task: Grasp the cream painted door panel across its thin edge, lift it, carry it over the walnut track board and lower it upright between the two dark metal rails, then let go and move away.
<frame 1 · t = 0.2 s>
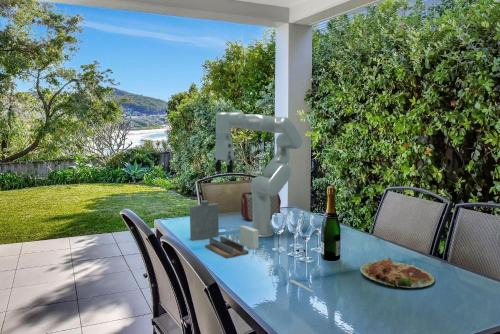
hand: (224, 171, 210), 36 cm above the table, tool pointing down, fingers open, 9 cm apart
hip flask: (205, 238, 222), on the table
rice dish: (396, 277, 167), on the table
door panel: (248, 246, 208), on the table
handbag: (262, 218, 266), on the table
track: (226, 250, 200), on the table
butter knife: (314, 293, 152), on the table
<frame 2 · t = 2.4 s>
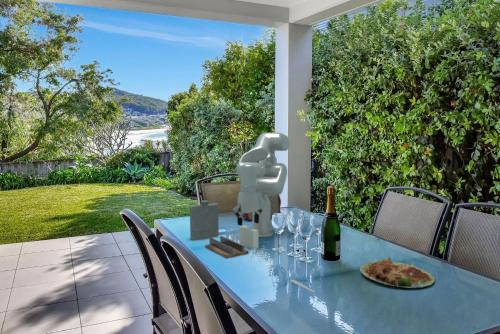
hand: (248, 224, 206), 11 cm above the table, tool pointing down, fingers open, 9 cm apart
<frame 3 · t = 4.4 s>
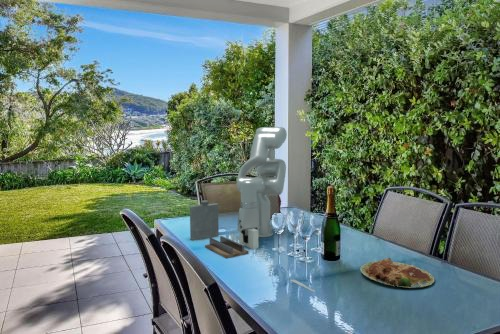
hand: (248, 241, 207), 2 cm above the table, tool pointing down, fingers closed on door panel, 3 cm apart
door panel: (248, 245, 208), on the table, touching gripper
everything else where it was.
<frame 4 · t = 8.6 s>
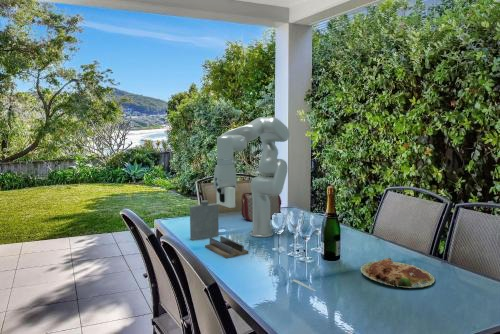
hand: (225, 201, 198), 24 cm above the table, tool pointing down, fingers closed on door panel, 3 cm apart
door panel: (225, 205, 198), point 22 cm above the table, touching gripper
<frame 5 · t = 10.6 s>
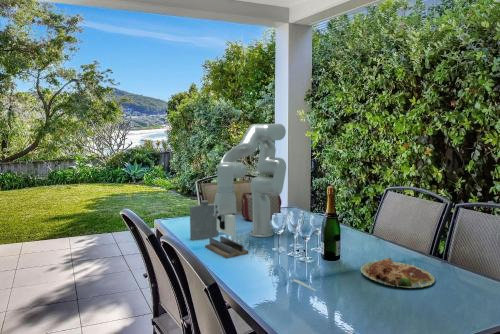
hand: (225, 228, 199), 11 cm above the table, tool pointing down, fingers closed on door panel, 3 cm apart
door panel: (225, 232, 199), point 9 cm above the table, touching gripper
when the fingers open (5 cm above the table, at t = 12.6 s): door panel drops 1 cm, resting on track.
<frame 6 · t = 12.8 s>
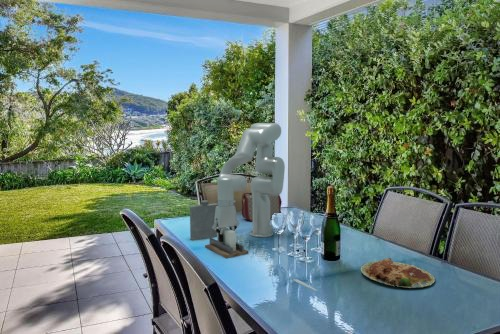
hand: (226, 240, 200), 5 cm above the table, tool pointing down, fingers open, 4 cm apart
door panel: (226, 247, 200), point 1 cm above the table, touching track
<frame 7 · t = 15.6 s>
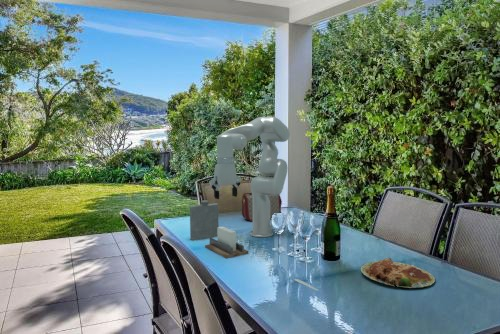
hand: (225, 197, 198), 26 cm above the table, tool pointing down, fingers open, 9 cm apart
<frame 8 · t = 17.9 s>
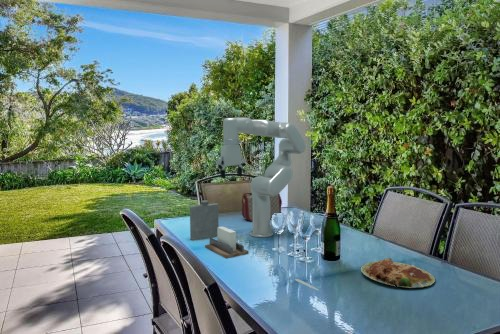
hand: (231, 176, 211), 33 cm above the table, tool pointing down, fingers open, 9 cm apart
at the end: door panel inside the target area on the track (0.2 cm from its centre), point 1.2 cm above the track's base; door panel tilted 0°; the gripper is holding nothing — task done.
